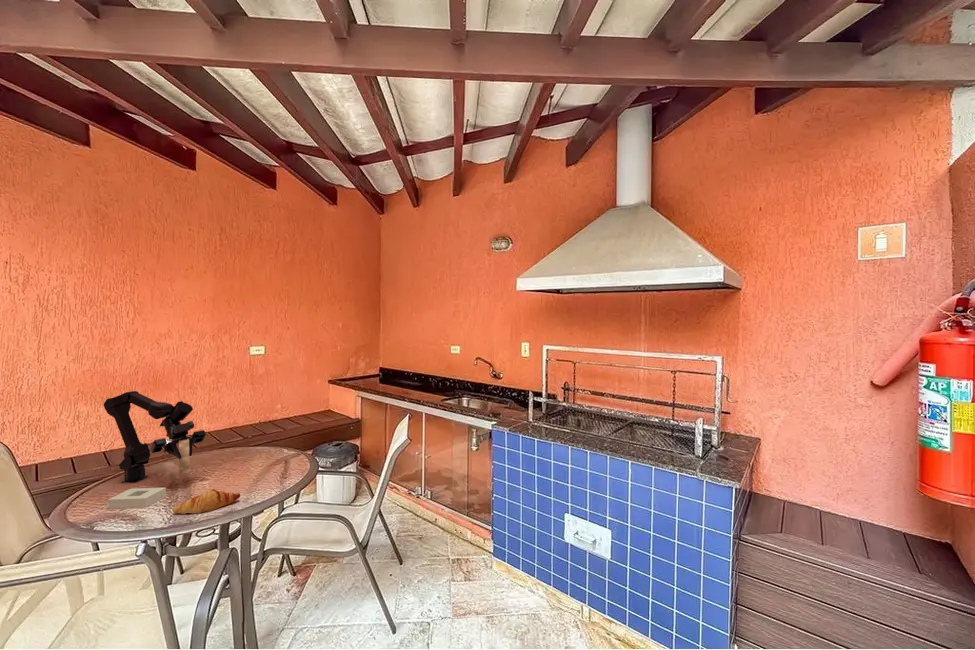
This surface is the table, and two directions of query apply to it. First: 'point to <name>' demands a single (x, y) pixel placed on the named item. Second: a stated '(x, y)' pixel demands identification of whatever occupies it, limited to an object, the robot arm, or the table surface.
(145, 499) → the socket block
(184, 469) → the peg
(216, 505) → the croissant
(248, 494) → the table surface
